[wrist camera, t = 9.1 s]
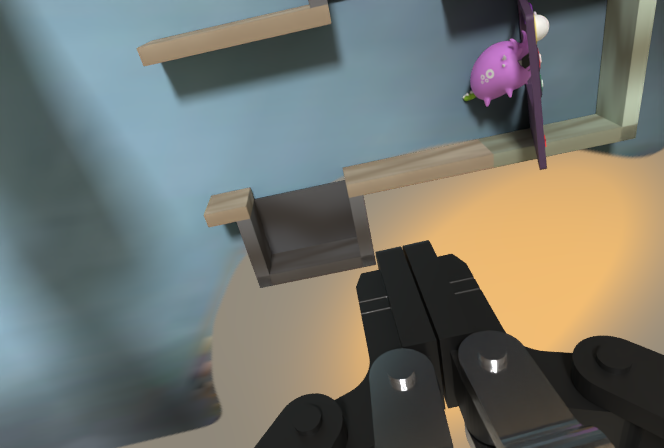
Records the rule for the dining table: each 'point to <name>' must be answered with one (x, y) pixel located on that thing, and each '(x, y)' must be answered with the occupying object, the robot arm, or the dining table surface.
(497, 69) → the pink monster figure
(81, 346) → the dining table surface
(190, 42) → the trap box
